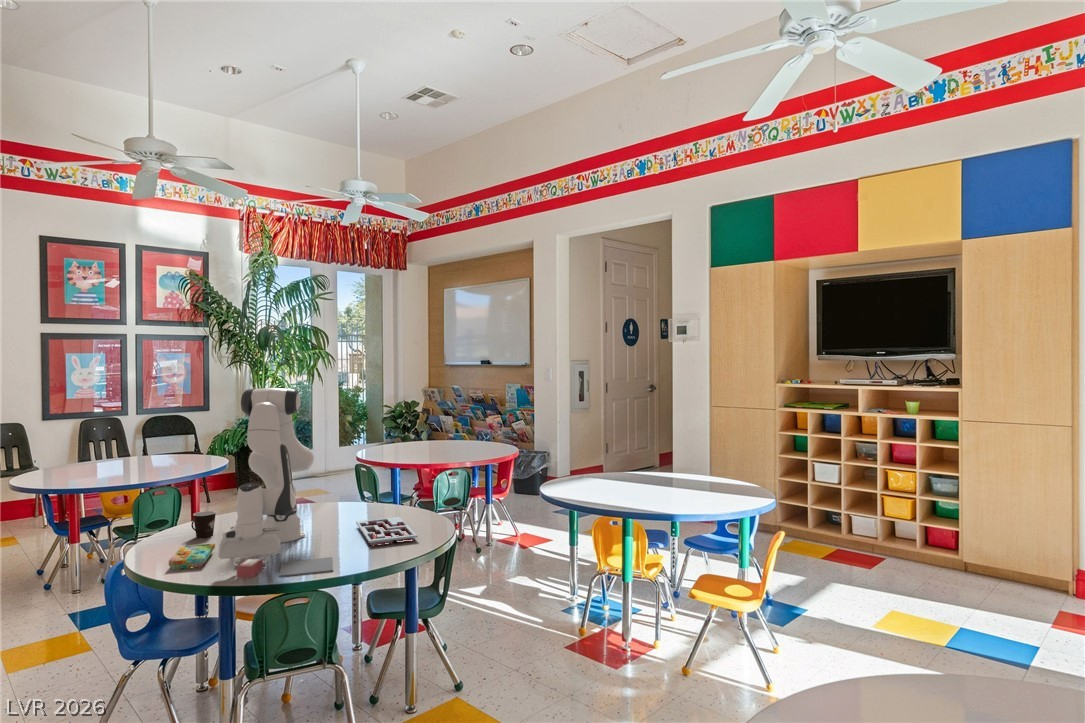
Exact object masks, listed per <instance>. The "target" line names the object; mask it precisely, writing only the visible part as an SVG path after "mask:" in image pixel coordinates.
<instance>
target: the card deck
mask: <svg viewBox="0 0 1085 723" xmlns="http://www.w3.org/2000/svg"><path fill="white" fill-rule="evenodd" d="M263 561H264V558H247V559H246V560H244V561H243V562H241V563H240V564H238V567H237V570H236V577H240V578H255V575H256V576H257V575H258V574H259V573H260V572H261V571H263V570H264V567H263V568H262V562H263ZM262 569H263V570H262Z"/></svg>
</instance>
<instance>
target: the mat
mask: <svg viewBox="0 0 1085 723" xmlns="http://www.w3.org/2000/svg"><path fill="white" fill-rule="evenodd" d="M333 561H334V560H333V557H332V556H329V557H328V556H327V557H319V558H310V559H309V558H307V559H301V560H299V559H298V560H289V561H281V564H280V569H279V573H278V577H279V578H286V577H294V576H295V577H296V576H304V575H305V576H306V575H312V574H323V573H333V572H334V565H333V564H334V562H333Z"/></svg>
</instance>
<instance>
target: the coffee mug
mask: <svg viewBox="0 0 1085 723" xmlns="http://www.w3.org/2000/svg"><path fill="white" fill-rule="evenodd" d="M216 514H217V513H216V511H214V510H203V511H199V512H195V513H193V514H192V515H193V520H192V521H191V525H190V526H191V528H192V530H193V531H195V538H196V537H197V538H196V539H199V538H203V539H208V538H207V537H209V538H212V537H214V532H215V531H214V529H215V522H216ZM211 536H212V537H211Z"/></svg>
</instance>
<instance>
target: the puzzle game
mask: <svg viewBox="0 0 1085 723" xmlns="http://www.w3.org/2000/svg"><path fill="white" fill-rule="evenodd" d="M215 548H216V543H205V544H191V545H182V546H181V547H180V548H179V549H178V550H177V551H176V552H175V553H174V554H173V555H172V557H171V558H170V559H169V560H168V566H169V567H170V568H171V569H172V570H173V569H178V570H182V569H181V568H189V569H192V568H191V567H201V568H202V567H203V566H204V565H205V563H206V562H207V561H208V559H209V558H210V556H211V554H212V553H213V551H214V550H215Z"/></svg>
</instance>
